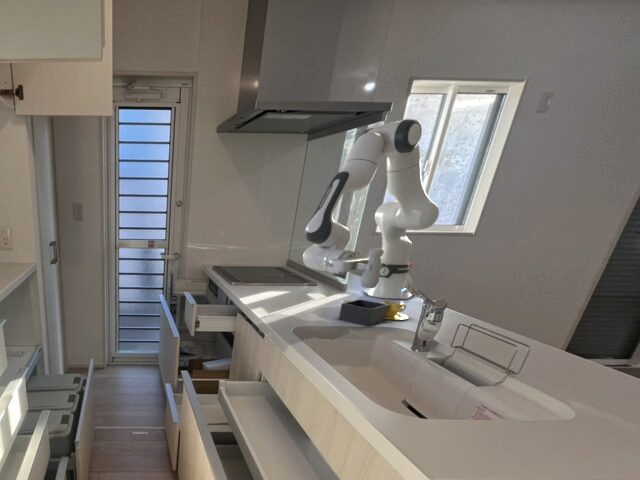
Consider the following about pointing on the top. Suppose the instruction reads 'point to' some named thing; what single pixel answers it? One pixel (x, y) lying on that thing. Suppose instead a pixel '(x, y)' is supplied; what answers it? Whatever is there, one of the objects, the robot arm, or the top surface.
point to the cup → (395, 310)
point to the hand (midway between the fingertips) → (375, 266)
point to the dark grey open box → (363, 312)
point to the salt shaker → (372, 269)
